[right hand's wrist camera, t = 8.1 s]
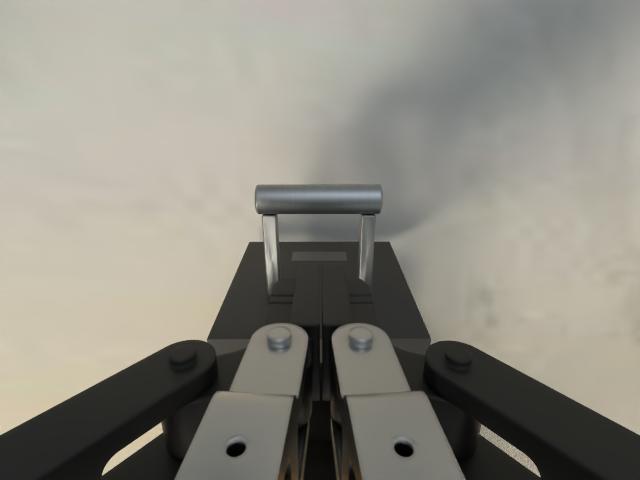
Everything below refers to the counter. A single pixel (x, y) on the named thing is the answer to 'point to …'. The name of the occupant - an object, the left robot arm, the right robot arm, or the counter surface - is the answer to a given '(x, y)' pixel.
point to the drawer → (282, 261)
